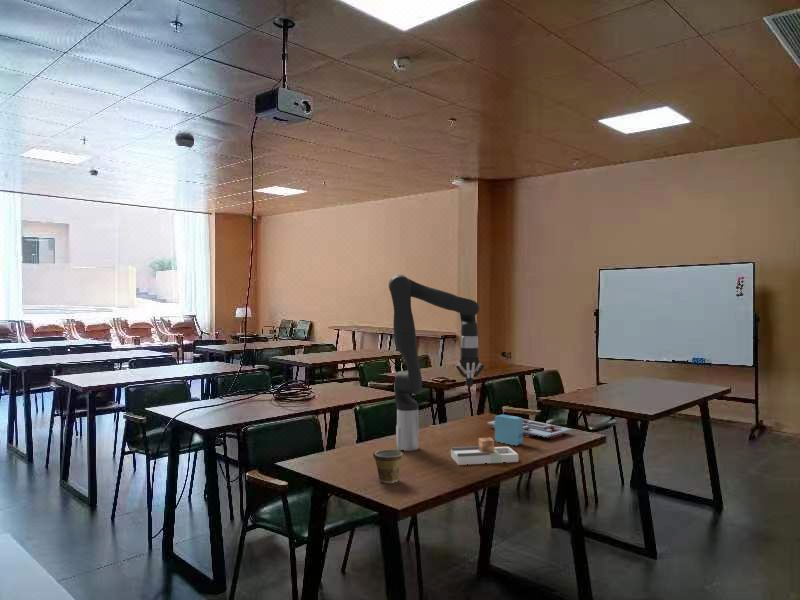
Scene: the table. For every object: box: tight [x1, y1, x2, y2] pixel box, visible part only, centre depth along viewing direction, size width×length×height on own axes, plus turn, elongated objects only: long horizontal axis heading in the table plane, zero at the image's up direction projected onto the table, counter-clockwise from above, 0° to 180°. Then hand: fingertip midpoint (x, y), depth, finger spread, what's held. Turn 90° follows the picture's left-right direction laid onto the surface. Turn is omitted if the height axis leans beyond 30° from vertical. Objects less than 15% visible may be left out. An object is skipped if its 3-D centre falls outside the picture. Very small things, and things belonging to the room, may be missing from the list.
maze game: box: [487, 418, 572, 439], centre depth 282 cm, size 35×20×3 cm, turn 40°
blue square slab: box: [494, 414, 524, 447], centre depth 260 cm, size 12×4×12 cm, turn 48°
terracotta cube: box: [478, 437, 495, 453], centre depth 236 cm, size 5×5×5 cm
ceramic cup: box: [372, 449, 403, 484], centre depth 210 cm, size 13×10×10 cm
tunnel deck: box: [450, 445, 519, 466], centre depth 236 cm, size 24×12×4 cm, turn 99°
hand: (469, 386), depth 250 cm, fingers closed
